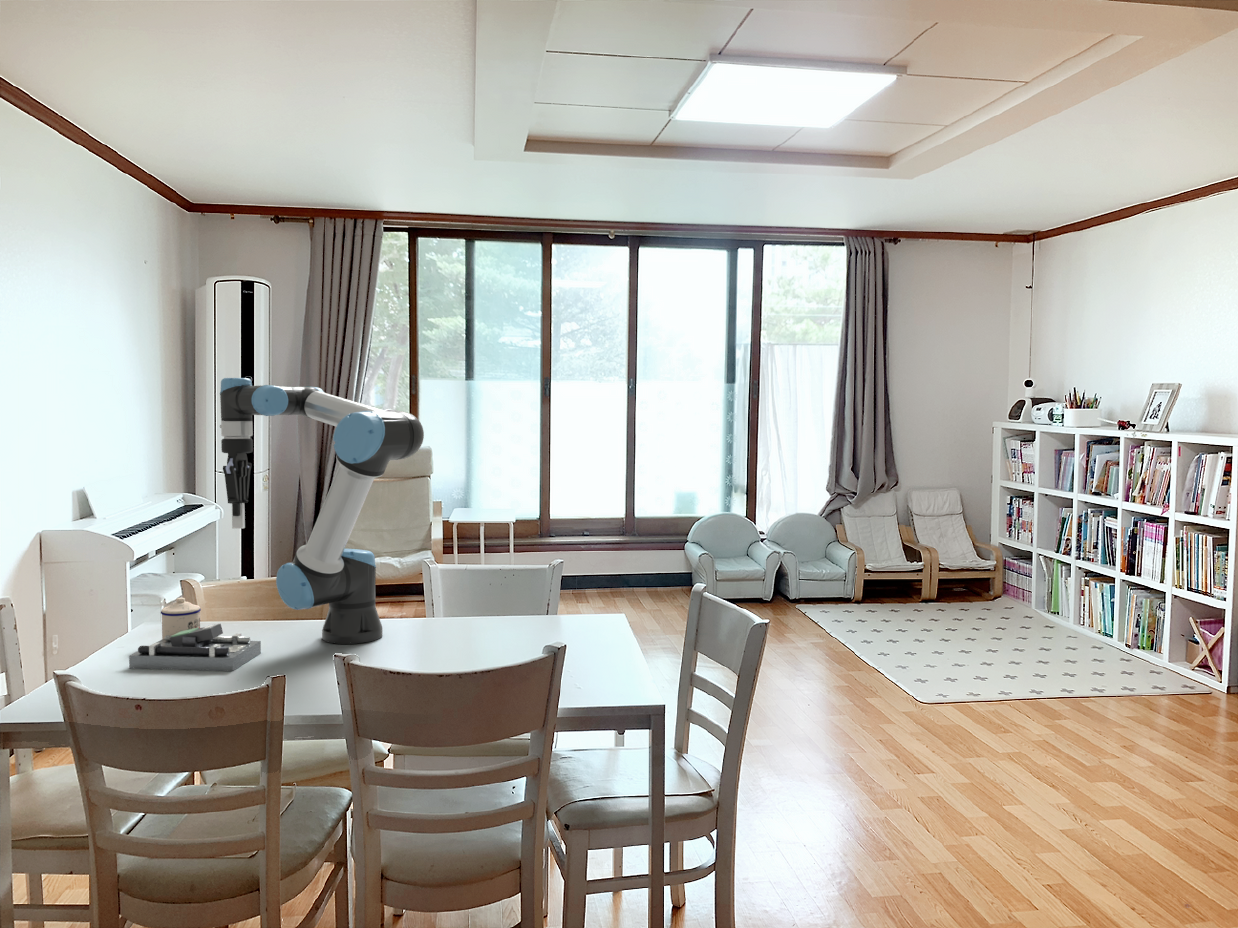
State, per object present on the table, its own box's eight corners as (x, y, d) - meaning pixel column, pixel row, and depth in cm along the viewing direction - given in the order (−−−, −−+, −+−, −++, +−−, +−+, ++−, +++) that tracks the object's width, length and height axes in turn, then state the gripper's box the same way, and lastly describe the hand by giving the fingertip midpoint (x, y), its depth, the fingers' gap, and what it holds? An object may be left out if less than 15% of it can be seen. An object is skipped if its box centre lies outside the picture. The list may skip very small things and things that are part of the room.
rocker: (223, 633, 222) (220, 622, 222) (213, 638, 217) (210, 627, 217) (183, 642, 222) (180, 631, 222) (172, 647, 217) (169, 636, 217)
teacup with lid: (189, 649, 229) (188, 602, 229) (153, 648, 230) (152, 601, 229) (213, 637, 241) (213, 592, 241) (179, 636, 242) (178, 591, 241)
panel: (260, 653, 227) (260, 626, 226) (232, 670, 212) (232, 642, 211) (163, 650, 228) (163, 624, 227) (129, 668, 213) (128, 640, 212)
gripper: (232, 436, 248) (234, 524, 250) (211, 438, 235) (213, 531, 237) (261, 436, 248) (262, 524, 250) (241, 438, 235) (243, 531, 237)
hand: (238, 527), depth 243 cm, fingers closed
